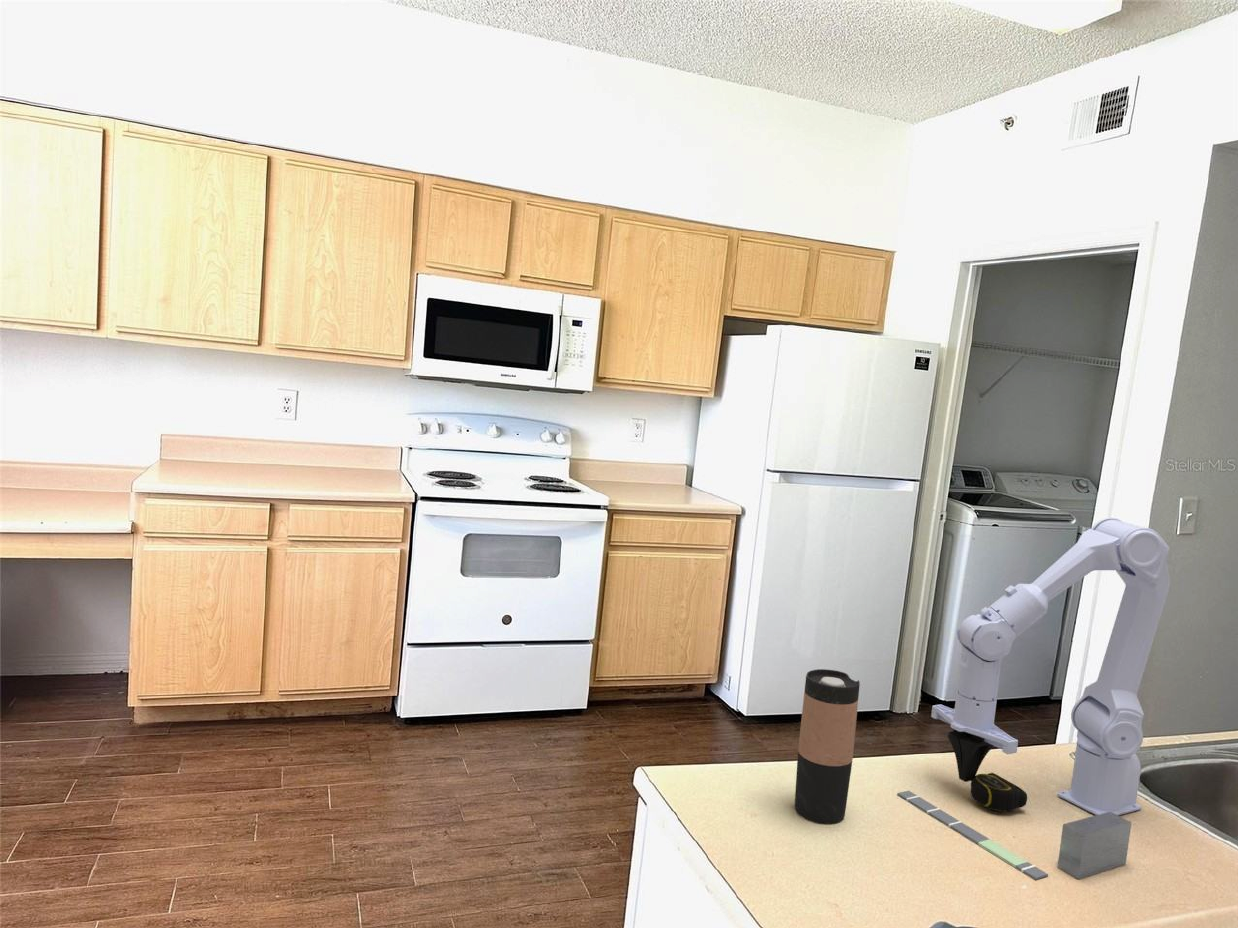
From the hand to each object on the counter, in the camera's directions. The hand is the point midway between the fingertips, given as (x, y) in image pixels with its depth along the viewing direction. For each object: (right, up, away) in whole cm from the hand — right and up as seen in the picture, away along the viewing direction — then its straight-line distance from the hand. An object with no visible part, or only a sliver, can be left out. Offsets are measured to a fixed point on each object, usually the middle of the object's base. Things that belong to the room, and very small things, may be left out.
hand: (966, 779), depth 135 cm
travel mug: (-25, -2, -9) cm, 26 cm away
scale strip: (-5, -3, -12) cm, 13 cm away
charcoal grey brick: (+10, -5, -18) cm, 21 cm away
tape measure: (+3, -3, -2) cm, 5 cm away
